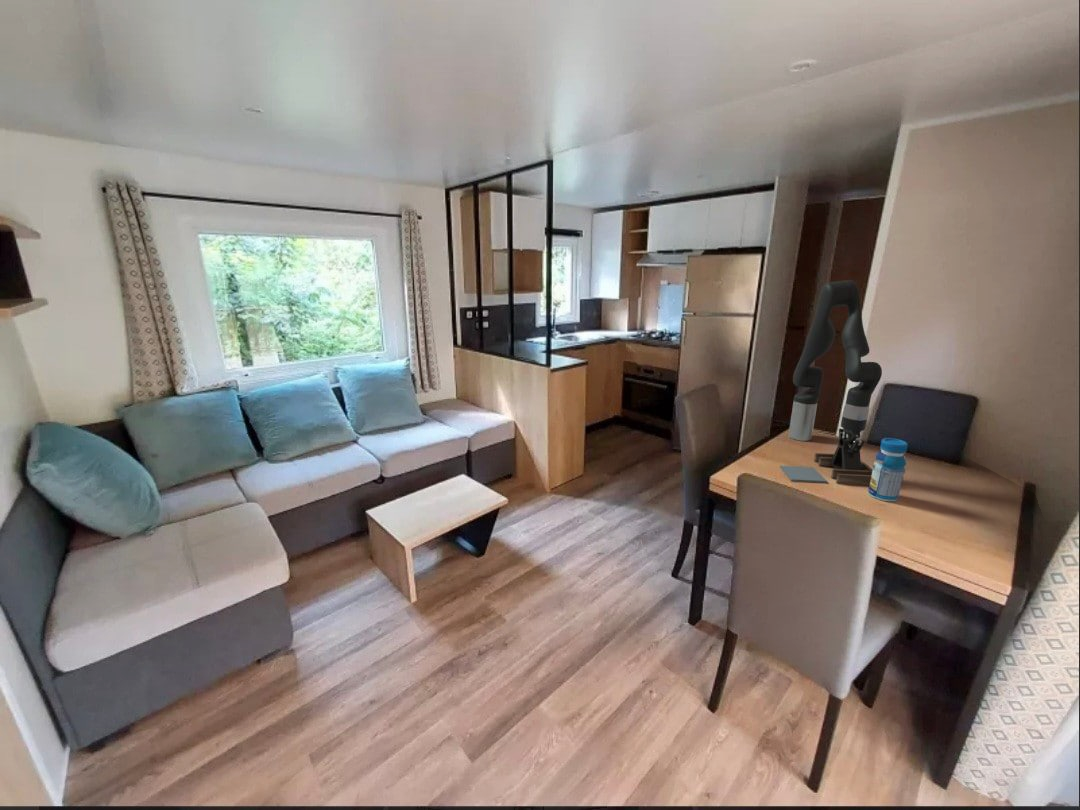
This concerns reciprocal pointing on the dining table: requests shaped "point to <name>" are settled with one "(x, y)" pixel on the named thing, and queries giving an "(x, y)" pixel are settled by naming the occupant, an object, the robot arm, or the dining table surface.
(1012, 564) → the dining table surface
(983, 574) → the dining table surface
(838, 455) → the phone stand
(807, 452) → the dining table surface
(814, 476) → the slate mat
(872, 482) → the blue pill bottle
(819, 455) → the walnut rack
